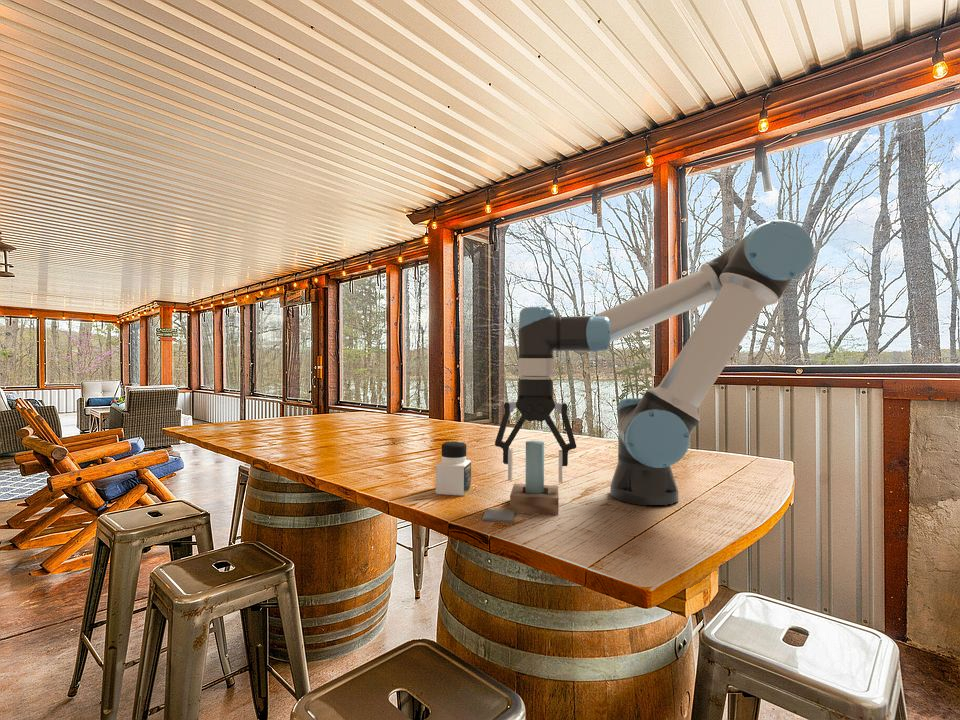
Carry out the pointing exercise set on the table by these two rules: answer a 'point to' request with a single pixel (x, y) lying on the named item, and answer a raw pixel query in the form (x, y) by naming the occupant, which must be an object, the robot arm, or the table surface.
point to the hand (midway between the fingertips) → (535, 480)
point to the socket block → (534, 500)
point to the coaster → (498, 515)
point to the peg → (534, 467)
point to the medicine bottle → (453, 470)
